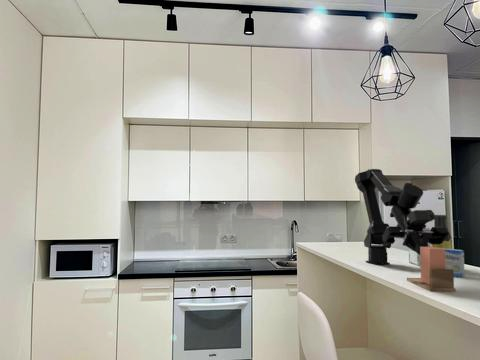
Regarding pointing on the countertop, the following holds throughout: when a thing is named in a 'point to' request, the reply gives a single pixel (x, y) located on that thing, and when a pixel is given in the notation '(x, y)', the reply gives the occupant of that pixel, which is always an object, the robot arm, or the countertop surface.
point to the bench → (437, 280)
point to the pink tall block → (431, 261)
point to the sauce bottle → (441, 222)
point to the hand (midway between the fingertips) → (427, 257)
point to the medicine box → (455, 261)
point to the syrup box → (414, 256)
